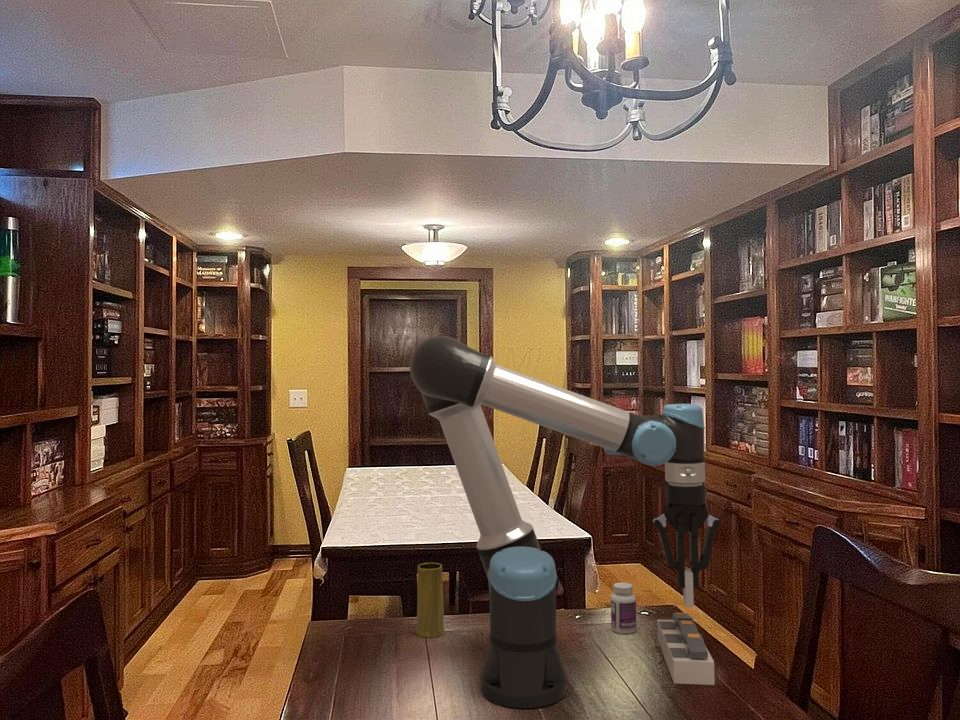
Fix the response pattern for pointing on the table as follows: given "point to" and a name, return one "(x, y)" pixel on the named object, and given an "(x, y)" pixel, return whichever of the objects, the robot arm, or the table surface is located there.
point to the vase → (430, 601)
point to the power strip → (683, 657)
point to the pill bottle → (623, 609)
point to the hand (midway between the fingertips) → (688, 604)
